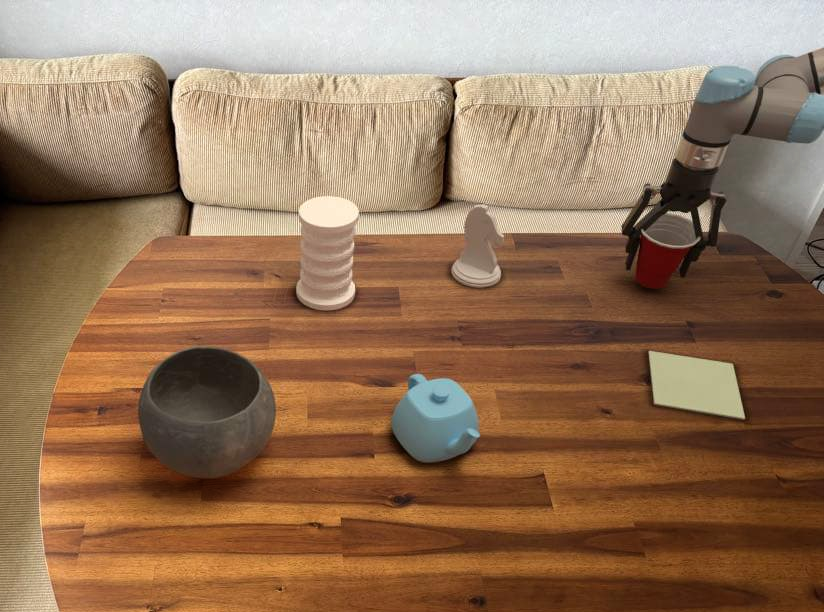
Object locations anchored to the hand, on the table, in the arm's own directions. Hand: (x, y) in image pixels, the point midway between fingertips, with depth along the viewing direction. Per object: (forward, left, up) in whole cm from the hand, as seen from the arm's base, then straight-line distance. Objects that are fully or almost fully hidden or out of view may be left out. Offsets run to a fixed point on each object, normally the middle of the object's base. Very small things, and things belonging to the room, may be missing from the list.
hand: (654, 270), depth 149 cm
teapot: (+35, +53, -4) cm, 64 cm away
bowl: (+69, +64, -4) cm, 95 cm away
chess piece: (+33, +4, -4) cm, 34 cm away
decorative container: (+61, +18, -4) cm, 64 cm away
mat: (-6, +28, -4) cm, 29 cm away
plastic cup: (0, 0, -3) cm, 3 cm away
